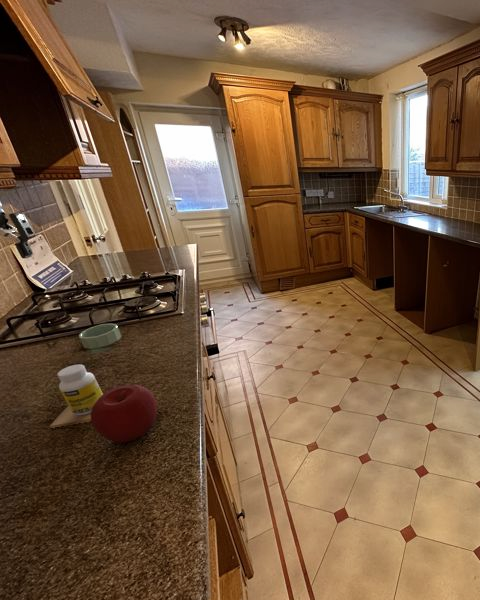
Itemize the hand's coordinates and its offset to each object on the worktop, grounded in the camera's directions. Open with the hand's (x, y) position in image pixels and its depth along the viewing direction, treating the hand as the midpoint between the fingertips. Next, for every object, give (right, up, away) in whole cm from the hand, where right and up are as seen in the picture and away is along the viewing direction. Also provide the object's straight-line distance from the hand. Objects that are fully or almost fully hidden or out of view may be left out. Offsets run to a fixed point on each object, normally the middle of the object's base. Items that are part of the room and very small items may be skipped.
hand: (4, 259), depth 76 cm
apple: (+41, -36, -12) cm, 56 cm away
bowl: (+8, -23, +17) cm, 30 cm away
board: (+26, -33, -6) cm, 43 cm away
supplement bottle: (+26, -33, -6) cm, 43 cm away
